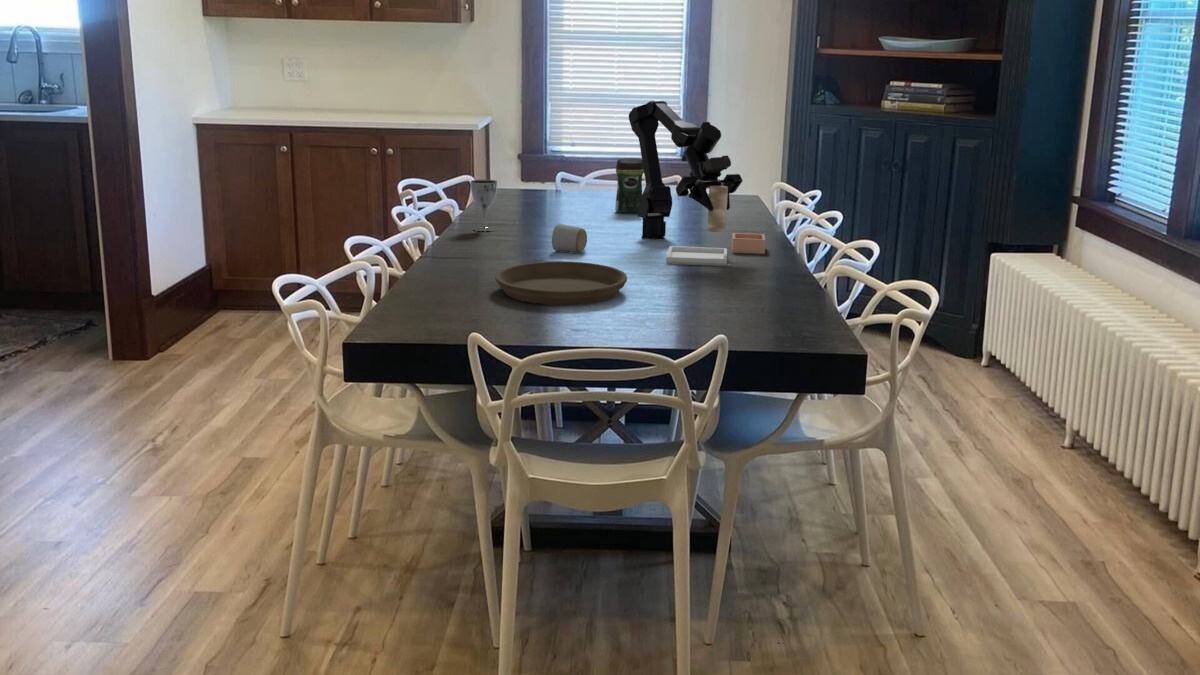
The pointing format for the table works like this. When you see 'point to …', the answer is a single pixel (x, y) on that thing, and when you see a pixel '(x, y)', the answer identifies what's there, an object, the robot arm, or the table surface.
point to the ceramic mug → (569, 238)
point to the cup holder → (748, 243)
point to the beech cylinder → (717, 208)
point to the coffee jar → (629, 185)
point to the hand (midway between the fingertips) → (720, 209)
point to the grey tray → (697, 256)
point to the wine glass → (484, 195)
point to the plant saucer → (561, 282)
